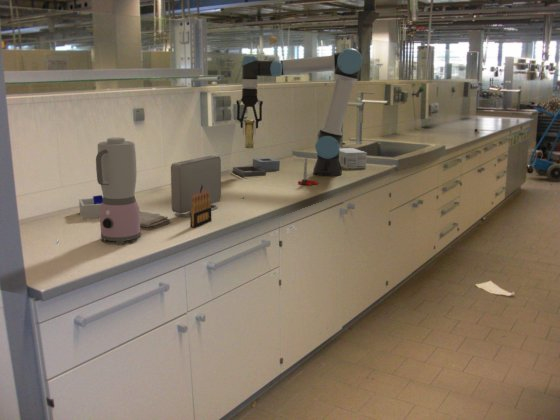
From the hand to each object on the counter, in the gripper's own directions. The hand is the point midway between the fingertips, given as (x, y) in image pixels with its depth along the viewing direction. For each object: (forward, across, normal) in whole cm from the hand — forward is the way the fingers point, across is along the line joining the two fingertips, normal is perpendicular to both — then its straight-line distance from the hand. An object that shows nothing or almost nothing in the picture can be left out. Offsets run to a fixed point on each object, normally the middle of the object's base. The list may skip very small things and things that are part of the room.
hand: (249, 134), depth 282 cm
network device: (+21, +18, +76) cm, 81 cm away
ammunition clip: (+21, +15, +94) cm, 98 cm away
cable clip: (+21, +51, +82) cm, 98 cm away
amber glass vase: (+7, 0, 0) cm, 7 cm away
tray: (+21, 0, 0) cm, 21 cm away
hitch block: (+21, -9, -12) cm, 26 cm away
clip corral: (+21, +51, +82) cm, 98 cm away
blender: (+21, +39, +114) cm, 123 cm away
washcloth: (+22, +36, +94) cm, 103 cm away
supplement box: (+21, -58, -33) cm, 70 cm away
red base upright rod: (+21, -29, +20) cm, 41 cm away
